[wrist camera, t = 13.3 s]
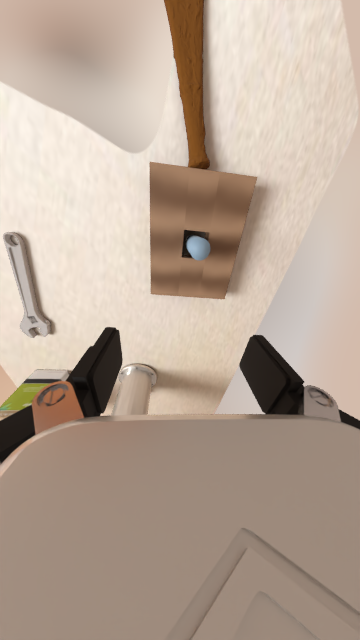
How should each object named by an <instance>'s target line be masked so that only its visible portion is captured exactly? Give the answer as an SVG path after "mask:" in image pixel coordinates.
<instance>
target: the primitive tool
mask: <svg viewBox="0 0 360 640" xmlns="http://www.w3.org/2000/svg"><path fill="white" fill-rule="evenodd" d="M164 2H165V6H166V11H167V15H168V21H169V25H170V31H171V36H172V42H173V51H174V58H175V61H176V66H177V74H178V79H179V89H180V97H181V100H182V104H183V112H184V119H185V125H186V132H187V140H188V150H189V164H188V167H190V168H197V169H204V170H206V169H207V168H208V167H209V166H210V162H209V159H208V158H207V155H206V152H205V145H204V139H205V127H204V121H203V59H202V54H203V6H204V0H164Z"/></svg>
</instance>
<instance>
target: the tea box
mask: <svg viewBox="0 0 360 640" xmlns="http://www.w3.org/2000/svg"><path fill="white" fill-rule="evenodd" d="M68 376H69V373H68V370H35V371H34V372H33V373H32V374H31V375H30V376H29V377H28V378H27V379H26V380H25V381H24V382H23V383H22V384H21V386H20V387H19V388H18V389H17V390H16V391H15V392H14V393H13V394H12V395H11V396H10V397H9V398H8V399H7V400H6V401H5V402H4V403H3V404H2V406H1V407H0V421H1V420H2V419H4V418H6V417H8V416H10V415H12V414H14V413H16V412H18V411H20V410H22V409H24V408H26V407H28V406H29V405H31V404H32V400H33V398H34V396H35V395H36V394H37V393H38V392H39V391H40V390H41V389H42V388H44V387H45V386H47V385H49V384H51V383H54V382H58V381H66V379H67V378H68Z"/></svg>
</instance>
